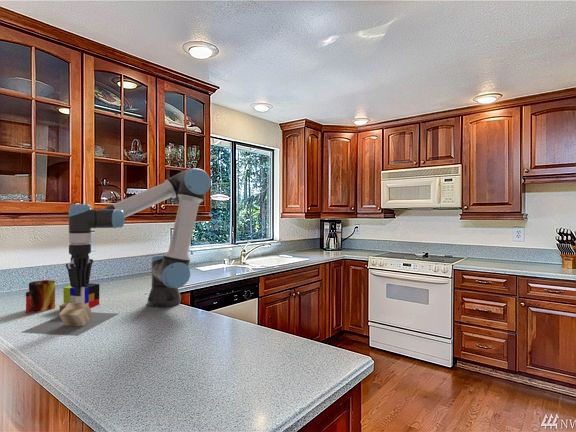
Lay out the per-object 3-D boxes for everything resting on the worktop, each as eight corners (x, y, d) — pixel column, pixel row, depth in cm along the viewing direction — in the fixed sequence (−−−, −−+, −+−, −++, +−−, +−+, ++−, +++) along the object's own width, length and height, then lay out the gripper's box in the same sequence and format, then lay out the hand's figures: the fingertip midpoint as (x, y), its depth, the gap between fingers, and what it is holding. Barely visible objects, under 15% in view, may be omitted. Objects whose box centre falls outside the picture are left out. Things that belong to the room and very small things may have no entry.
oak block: (87, 303, 140) (78, 315, 135) (92, 314, 143) (83, 326, 138) (68, 302, 141) (58, 314, 136) (73, 313, 144) (64, 325, 139)
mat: (119, 314, 154) (119, 313, 154) (77, 336, 129) (77, 335, 129) (71, 311, 157) (71, 311, 157) (20, 333, 131) (20, 332, 131)
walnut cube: (77, 313, 153) (77, 302, 153) (72, 317, 148) (72, 305, 148) (65, 314, 152) (65, 302, 152) (59, 317, 147) (59, 305, 147)
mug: (25, 316, 150) (25, 287, 149) (30, 307, 162) (30, 281, 161) (53, 313, 154) (53, 285, 154) (55, 305, 167) (55, 279, 166)
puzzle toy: (83, 311, 158) (83, 288, 157) (63, 309, 160) (63, 287, 159) (99, 305, 168) (99, 284, 167) (80, 303, 170) (80, 282, 169)
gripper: (82, 241, 148) (82, 298, 148) (58, 245, 135) (59, 307, 135) (99, 242, 147) (99, 299, 148) (77, 245, 134) (77, 308, 135)
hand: (80, 303), depth 142 cm, fingers closed
